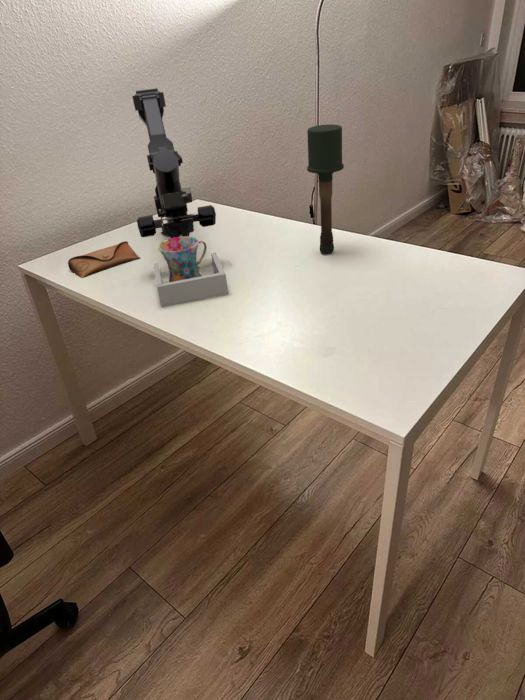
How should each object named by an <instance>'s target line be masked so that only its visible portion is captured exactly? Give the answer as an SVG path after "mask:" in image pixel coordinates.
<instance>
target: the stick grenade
mask: <svg viewBox="0 0 525 700" xmlns="http://www.w3.org/2000/svg"><path fill="white" fill-rule="evenodd" d="M307 156H308V157H307V158H308V159H307V161H308V162H307V163H308V165H307V166H306V171H307V172H308V173H312V174H317V175H318V195H319V198H320V199H319V201H320V235H319V252H320V254H322V255H325V254H326V255H327V254H328V255H331V254H333V253H334V250H335V246H334V235H333V227H332V225H333V224H332V221H333V219H332V216H333V215H332V214H333V213H332V209H333V208H332V199H333V198H332V197H333V174H334V173H337V172H340V171H342V170H343V169H344V167H345V165H344V163H343V127H342V126H341V125H339V124H331V123H330V124H329V123H328V124H319V125H314V126H311V127H309V128H307Z"/></svg>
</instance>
